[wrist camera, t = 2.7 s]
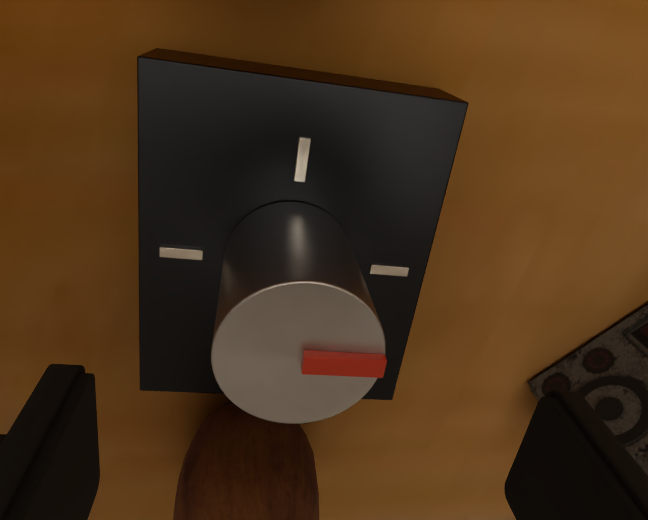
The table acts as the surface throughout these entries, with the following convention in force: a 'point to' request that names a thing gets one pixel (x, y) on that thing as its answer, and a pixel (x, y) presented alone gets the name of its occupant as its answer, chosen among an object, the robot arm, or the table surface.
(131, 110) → the table surface
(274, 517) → the wooden figurine
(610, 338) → the camera
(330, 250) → the dial
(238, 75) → the panel
